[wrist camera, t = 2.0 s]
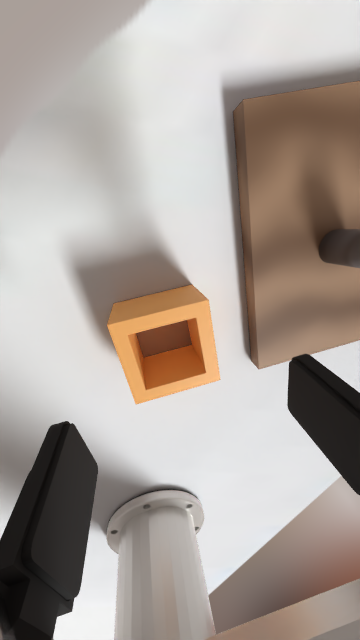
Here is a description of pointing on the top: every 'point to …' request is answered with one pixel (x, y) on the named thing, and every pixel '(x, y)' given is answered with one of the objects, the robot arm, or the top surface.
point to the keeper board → (300, 219)
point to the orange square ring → (172, 366)
